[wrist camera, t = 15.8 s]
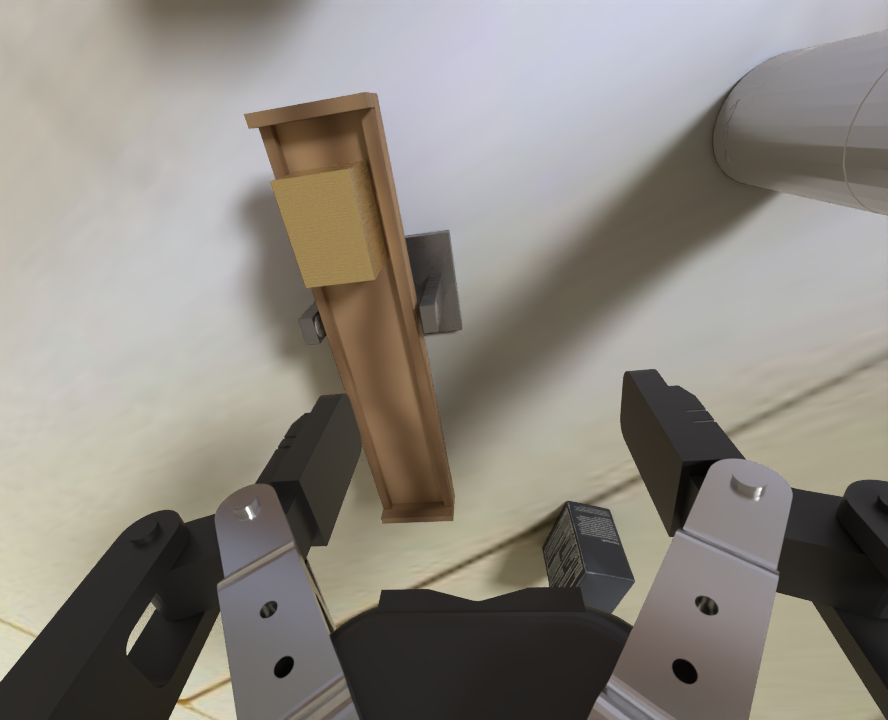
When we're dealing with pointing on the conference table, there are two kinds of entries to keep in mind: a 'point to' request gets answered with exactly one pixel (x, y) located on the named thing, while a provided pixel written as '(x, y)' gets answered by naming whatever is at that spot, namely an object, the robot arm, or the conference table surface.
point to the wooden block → (332, 223)
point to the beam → (373, 312)
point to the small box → (588, 556)
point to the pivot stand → (416, 287)
